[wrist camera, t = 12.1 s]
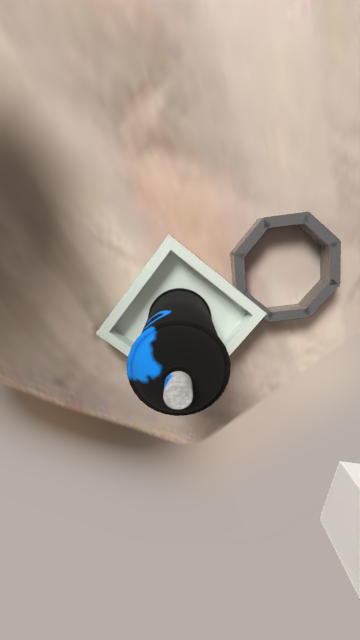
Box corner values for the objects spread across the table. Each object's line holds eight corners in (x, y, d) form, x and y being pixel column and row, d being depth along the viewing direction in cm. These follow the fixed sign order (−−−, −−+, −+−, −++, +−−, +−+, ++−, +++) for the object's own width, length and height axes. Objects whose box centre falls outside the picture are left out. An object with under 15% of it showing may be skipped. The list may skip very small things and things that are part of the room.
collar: (211, 276, 38) (213, 278, 36) (278, 193, 36) (285, 190, 33) (283, 333, 40) (289, 339, 38) (350, 259, 38) (362, 260, 35)
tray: (101, 326, 40) (95, 333, 37) (169, 235, 37) (168, 234, 34) (189, 389, 42) (189, 400, 39) (260, 308, 39) (266, 313, 36)
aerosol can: (219, 297, 38) (259, 356, 19) (200, 355, 40) (218, 462, 21) (157, 279, 38) (131, 321, 18) (141, 339, 40) (102, 434, 20)
